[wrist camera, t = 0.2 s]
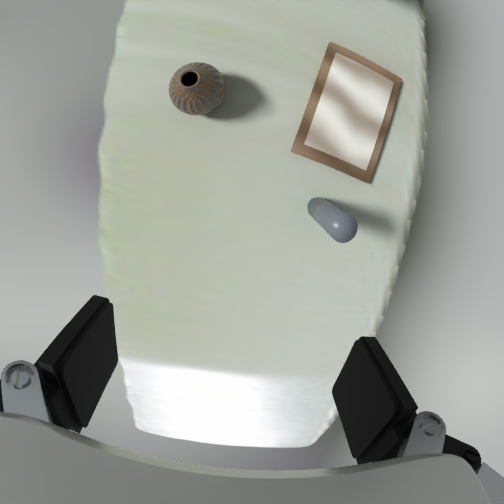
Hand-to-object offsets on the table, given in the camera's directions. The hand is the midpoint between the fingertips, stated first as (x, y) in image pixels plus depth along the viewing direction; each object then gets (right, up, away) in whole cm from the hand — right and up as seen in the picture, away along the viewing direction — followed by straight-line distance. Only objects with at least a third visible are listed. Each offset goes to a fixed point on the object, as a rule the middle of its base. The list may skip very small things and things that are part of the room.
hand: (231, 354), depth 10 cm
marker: (+10, +10, +29) cm, 32 cm away
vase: (-6, +25, +23) cm, 35 cm away
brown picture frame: (+15, +24, +24) cm, 37 cm away
